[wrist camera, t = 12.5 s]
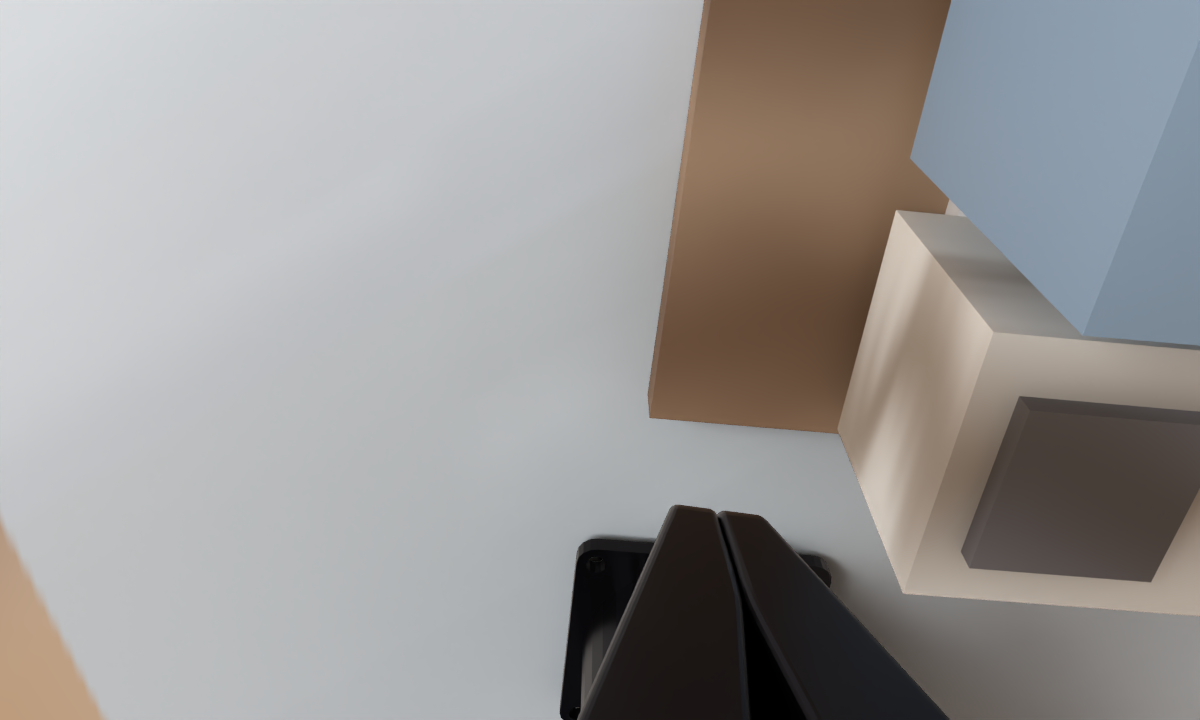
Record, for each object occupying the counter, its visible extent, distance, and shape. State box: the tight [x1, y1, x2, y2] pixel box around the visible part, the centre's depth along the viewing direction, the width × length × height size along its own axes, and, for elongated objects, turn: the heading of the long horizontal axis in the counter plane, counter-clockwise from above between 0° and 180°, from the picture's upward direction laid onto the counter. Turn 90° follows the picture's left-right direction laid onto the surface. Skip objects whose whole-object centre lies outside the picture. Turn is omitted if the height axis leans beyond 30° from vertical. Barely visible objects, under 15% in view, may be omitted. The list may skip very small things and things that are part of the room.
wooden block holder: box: [648, 0, 1200, 616], centre depth 14 cm, size 17×14×7 cm
